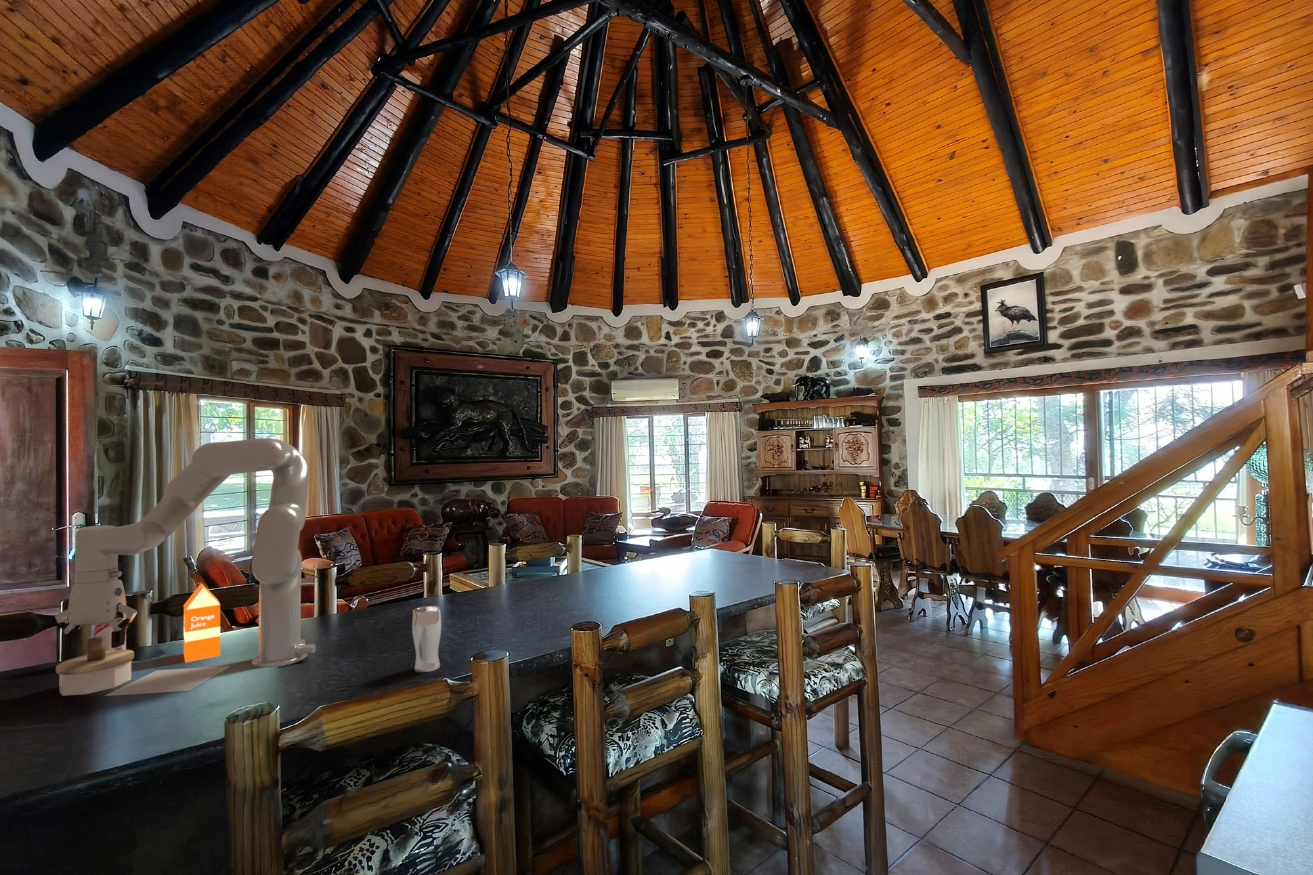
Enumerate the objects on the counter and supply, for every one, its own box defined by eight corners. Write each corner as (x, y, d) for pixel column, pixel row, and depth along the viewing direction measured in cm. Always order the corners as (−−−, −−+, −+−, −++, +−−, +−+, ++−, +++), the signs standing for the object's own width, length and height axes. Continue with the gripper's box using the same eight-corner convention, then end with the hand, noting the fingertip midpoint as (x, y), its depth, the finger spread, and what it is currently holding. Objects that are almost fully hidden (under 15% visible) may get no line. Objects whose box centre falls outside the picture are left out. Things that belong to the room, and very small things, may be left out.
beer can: (106, 665, 155) (106, 605, 155) (88, 664, 156) (88, 605, 157) (131, 657, 161) (132, 600, 162) (114, 656, 162) (114, 599, 163)
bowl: (142, 676, 147) (142, 654, 147) (102, 695, 135) (102, 671, 135) (90, 679, 145) (90, 657, 146) (45, 698, 133) (45, 674, 134)
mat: (231, 668, 151) (231, 665, 151) (188, 693, 135) (188, 690, 135) (156, 672, 149) (156, 670, 149) (104, 698, 133) (104, 695, 133)
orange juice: (184, 664, 154) (184, 589, 155) (183, 656, 161) (183, 584, 162) (221, 657, 160) (221, 584, 160) (218, 649, 166) (218, 580, 167)
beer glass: (447, 665, 149) (447, 607, 150) (426, 674, 143) (426, 613, 144) (427, 661, 152) (427, 604, 153) (406, 671, 146) (405, 611, 146)
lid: (148, 652, 148) (148, 628, 148) (103, 672, 134) (104, 645, 135) (89, 656, 146) (89, 631, 146) (38, 676, 133) (38, 649, 133)
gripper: (147, 572, 146) (146, 640, 145) (71, 575, 144) (71, 644, 143) (123, 578, 138) (122, 650, 138) (43, 581, 136) (42, 654, 136)
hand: (96, 647), depth 140 cm, fingers open, 9 cm apart
